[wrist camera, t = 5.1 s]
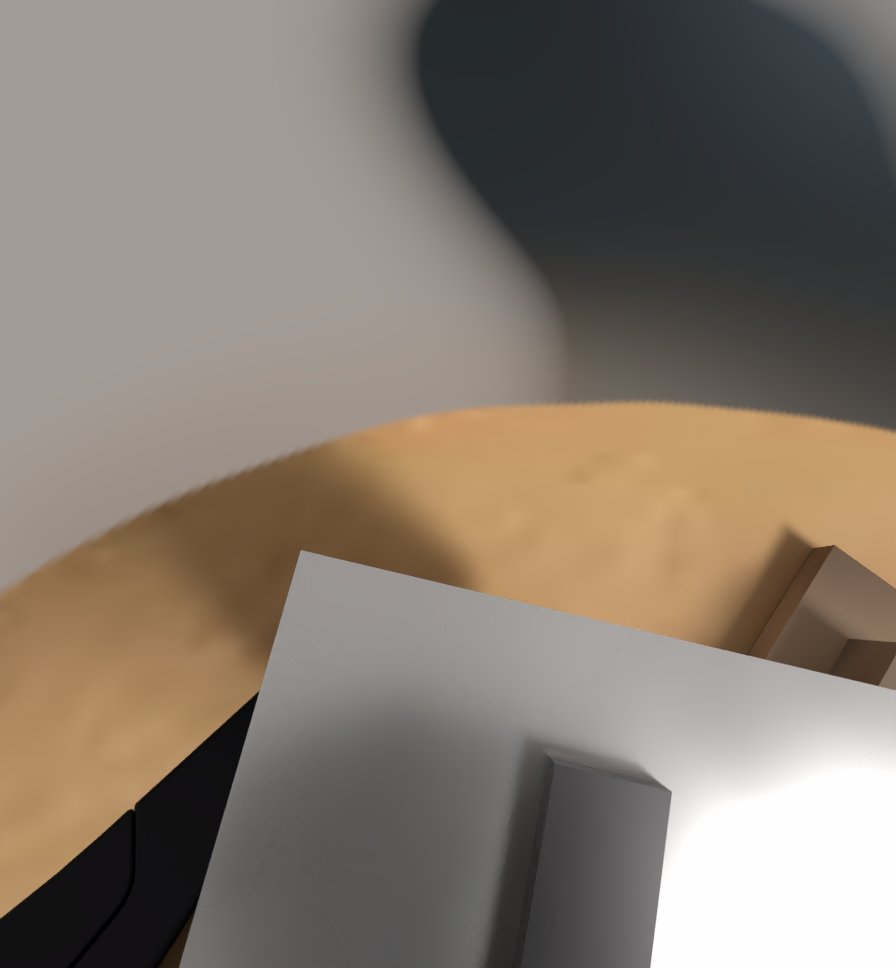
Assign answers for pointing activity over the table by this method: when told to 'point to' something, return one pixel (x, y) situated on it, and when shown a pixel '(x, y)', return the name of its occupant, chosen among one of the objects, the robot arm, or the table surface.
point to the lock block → (543, 795)
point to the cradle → (835, 621)
